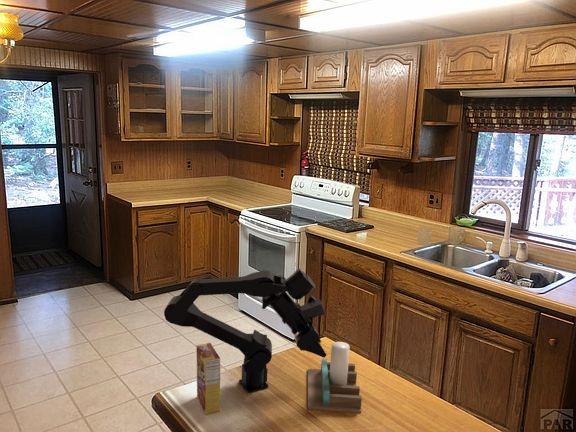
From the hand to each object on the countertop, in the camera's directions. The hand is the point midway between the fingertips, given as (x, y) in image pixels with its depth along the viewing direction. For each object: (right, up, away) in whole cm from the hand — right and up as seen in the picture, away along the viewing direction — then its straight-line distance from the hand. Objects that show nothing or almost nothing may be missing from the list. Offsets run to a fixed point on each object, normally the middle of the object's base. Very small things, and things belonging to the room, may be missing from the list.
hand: (322, 349), depth 132 cm
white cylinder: (+4, -11, +1) cm, 12 cm away
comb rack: (+3, -12, +1) cm, 12 cm away
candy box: (-31, -12, -8) cm, 34 cm away
